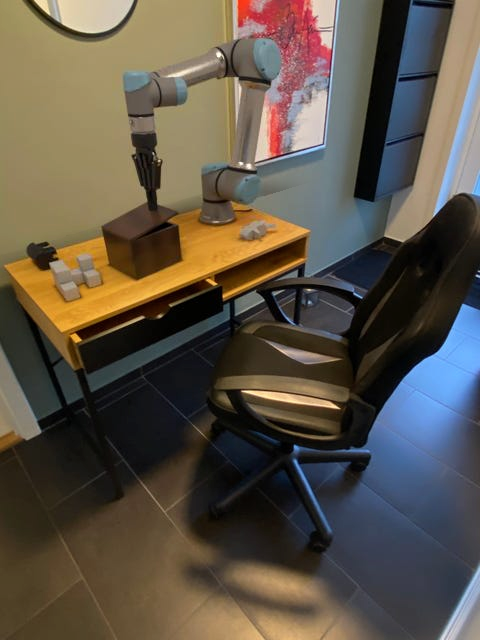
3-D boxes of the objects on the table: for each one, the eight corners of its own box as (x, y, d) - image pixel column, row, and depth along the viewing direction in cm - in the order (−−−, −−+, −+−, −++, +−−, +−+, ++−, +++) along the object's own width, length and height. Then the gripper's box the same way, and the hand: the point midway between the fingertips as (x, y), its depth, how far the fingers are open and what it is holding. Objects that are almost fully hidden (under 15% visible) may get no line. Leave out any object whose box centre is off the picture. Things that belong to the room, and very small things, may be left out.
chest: (153, 247, 148) (149, 213, 140) (182, 260, 139) (178, 224, 131) (109, 264, 136) (101, 229, 129) (136, 280, 127) (130, 242, 120)
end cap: (29, 262, 138) (23, 244, 134) (50, 256, 142) (45, 238, 138) (39, 272, 132) (33, 254, 128) (61, 266, 136) (55, 247, 132)
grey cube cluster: (67, 301, 117) (60, 278, 112) (55, 285, 125) (48, 262, 120) (106, 289, 122) (101, 266, 118) (93, 274, 130) (87, 252, 126)
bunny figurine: (233, 227, 153) (261, 213, 160) (235, 239, 156) (261, 225, 163) (251, 234, 147) (278, 219, 154) (251, 246, 150) (278, 231, 158)
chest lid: (149, 203, 138) (148, 201, 138) (178, 214, 130) (178, 211, 129) (101, 228, 129) (100, 226, 128) (130, 242, 120) (129, 239, 119)
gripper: (119, 131, 119) (132, 208, 132) (146, 136, 112) (156, 217, 125) (140, 127, 124) (150, 202, 137) (167, 132, 116) (174, 211, 130)
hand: (153, 209), depth 131 cm, fingers closed
